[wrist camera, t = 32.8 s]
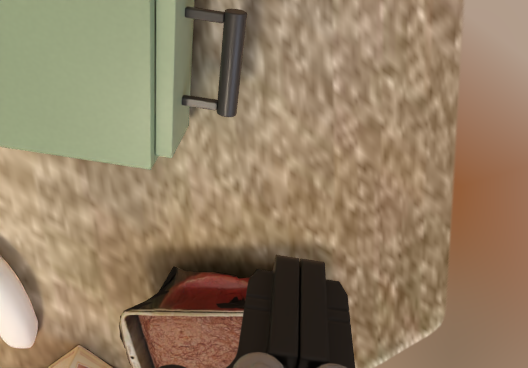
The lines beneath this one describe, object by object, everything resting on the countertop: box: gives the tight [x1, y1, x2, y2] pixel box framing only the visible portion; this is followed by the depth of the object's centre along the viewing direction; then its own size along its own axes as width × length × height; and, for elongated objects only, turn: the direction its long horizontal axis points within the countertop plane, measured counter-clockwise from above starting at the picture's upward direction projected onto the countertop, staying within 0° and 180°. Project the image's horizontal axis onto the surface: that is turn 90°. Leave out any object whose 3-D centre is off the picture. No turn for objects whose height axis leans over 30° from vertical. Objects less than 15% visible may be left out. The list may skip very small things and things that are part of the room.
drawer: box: [155, 0, 247, 158], centre depth 30 cm, size 18×13×5 cm
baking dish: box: [119, 267, 273, 368], centre depth 45 cm, size 14×18×10 cm
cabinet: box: [0, 0, 159, 170], centre depth 30 cm, size 16×14×7 cm
